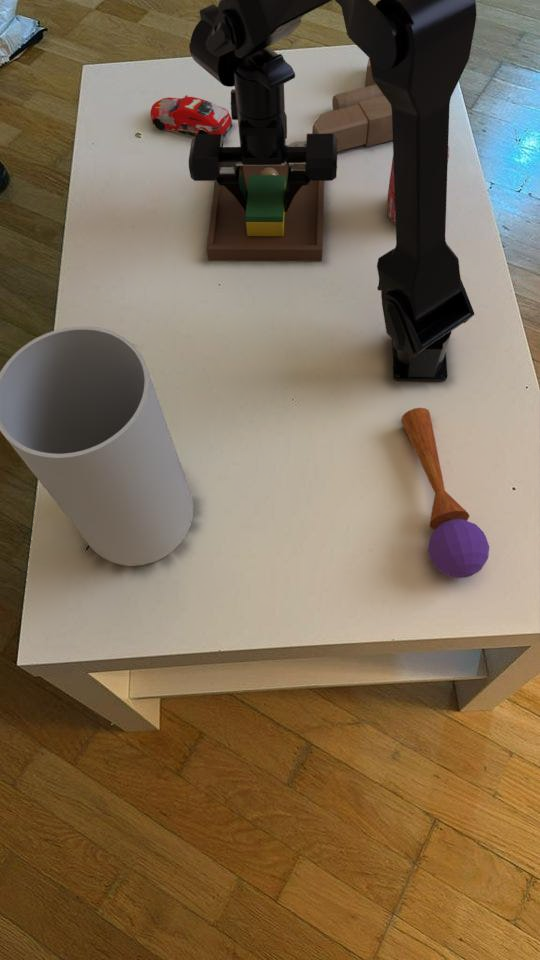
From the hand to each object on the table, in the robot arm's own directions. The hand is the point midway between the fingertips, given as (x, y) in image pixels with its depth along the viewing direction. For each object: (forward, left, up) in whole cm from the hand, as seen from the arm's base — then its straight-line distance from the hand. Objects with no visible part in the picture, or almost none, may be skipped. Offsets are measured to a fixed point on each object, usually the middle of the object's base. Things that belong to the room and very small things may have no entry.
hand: (266, 209), depth 94 cm
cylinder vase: (-46, +12, -2) cm, 48 cm away
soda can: (+1, -20, -2) cm, 20 cm away
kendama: (-43, -21, -2) cm, 48 cm away
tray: (+2, 0, -2) cm, 3 cm away
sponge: (0, 0, -1) cm, 1 cm away
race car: (+20, +13, -2) cm, 24 cm away
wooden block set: (+23, -12, -2) cm, 26 cm away
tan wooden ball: (+6, 0, 0) cm, 6 cm away
